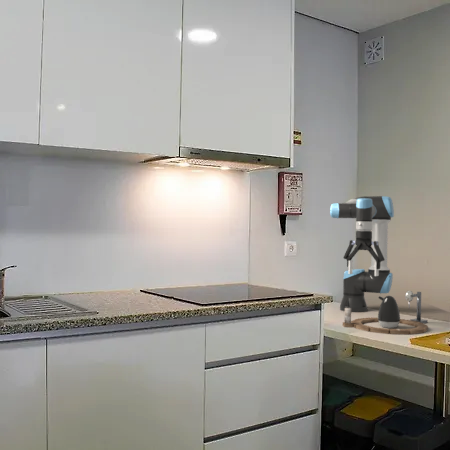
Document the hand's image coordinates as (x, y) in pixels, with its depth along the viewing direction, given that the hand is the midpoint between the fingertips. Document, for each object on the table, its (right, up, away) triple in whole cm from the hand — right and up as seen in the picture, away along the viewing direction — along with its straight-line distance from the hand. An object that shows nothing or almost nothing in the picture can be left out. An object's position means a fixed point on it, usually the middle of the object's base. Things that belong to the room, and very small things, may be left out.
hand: (363, 274), depth 265 cm
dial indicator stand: (+28, -25, +9) cm, 38 cm away
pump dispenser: (+11, -25, -3) cm, 28 cm away
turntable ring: (+9, -24, -3) cm, 26 cm away
